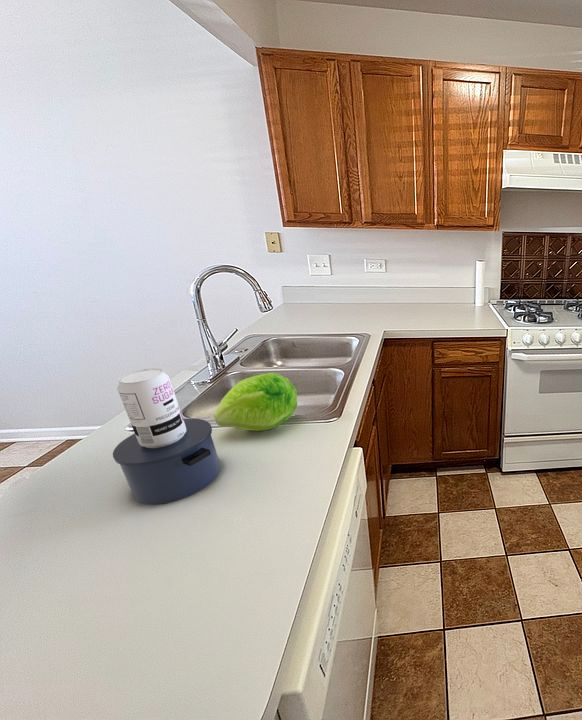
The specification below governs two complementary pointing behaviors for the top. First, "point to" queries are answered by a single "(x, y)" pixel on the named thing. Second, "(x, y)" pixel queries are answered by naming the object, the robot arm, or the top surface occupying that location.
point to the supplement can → (152, 407)
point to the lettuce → (257, 403)
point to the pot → (170, 465)
